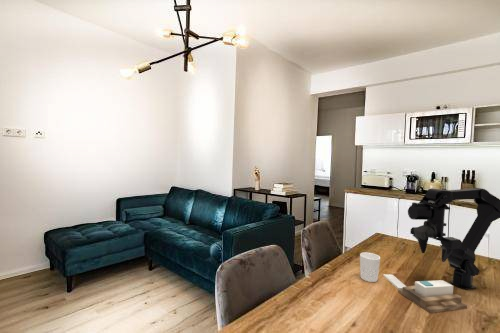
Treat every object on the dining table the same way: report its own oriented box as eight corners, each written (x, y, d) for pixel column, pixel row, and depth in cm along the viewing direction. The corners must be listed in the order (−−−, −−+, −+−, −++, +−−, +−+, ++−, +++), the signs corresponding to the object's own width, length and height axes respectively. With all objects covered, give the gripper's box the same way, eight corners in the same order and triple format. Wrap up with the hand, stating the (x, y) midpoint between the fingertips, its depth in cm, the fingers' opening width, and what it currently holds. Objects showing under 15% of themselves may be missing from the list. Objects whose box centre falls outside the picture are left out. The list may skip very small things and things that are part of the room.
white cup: (367, 283, 109) (368, 260, 109) (355, 275, 117) (356, 253, 116) (383, 282, 111) (384, 258, 111) (370, 273, 119) (371, 251, 119)
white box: (441, 292, 102) (442, 279, 102) (452, 299, 97) (453, 284, 97) (414, 294, 100) (415, 280, 100) (423, 301, 95) (424, 286, 95)
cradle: (431, 288, 107) (431, 281, 107) (466, 308, 93) (467, 300, 93) (398, 291, 103) (398, 284, 103) (430, 313, 90) (430, 304, 90)
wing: (392, 277, 117) (392, 274, 117) (408, 291, 105) (408, 288, 105) (383, 276, 117) (383, 274, 117) (398, 290, 105) (398, 287, 105)
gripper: (401, 214, 115) (398, 250, 116) (440, 226, 97) (437, 268, 98) (422, 214, 118) (419, 248, 119) (464, 225, 100) (461, 266, 101)
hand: (432, 257), depth 109 cm, fingers open, 9 cm apart
